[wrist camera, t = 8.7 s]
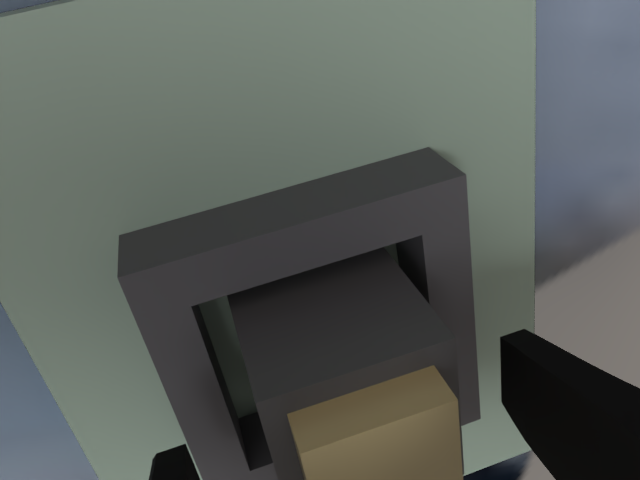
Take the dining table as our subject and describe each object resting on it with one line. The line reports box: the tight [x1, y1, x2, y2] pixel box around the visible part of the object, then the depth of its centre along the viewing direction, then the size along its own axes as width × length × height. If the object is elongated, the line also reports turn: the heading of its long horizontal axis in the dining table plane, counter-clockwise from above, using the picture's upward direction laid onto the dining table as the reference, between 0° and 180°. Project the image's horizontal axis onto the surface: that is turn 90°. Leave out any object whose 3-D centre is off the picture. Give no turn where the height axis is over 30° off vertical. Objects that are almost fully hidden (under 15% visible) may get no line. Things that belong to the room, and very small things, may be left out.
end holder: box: [0, 0, 536, 480], centre depth 16 cm, size 14×18×3 cm
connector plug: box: [227, 247, 464, 480], centre depth 14 cm, size 4×4×6 cm
